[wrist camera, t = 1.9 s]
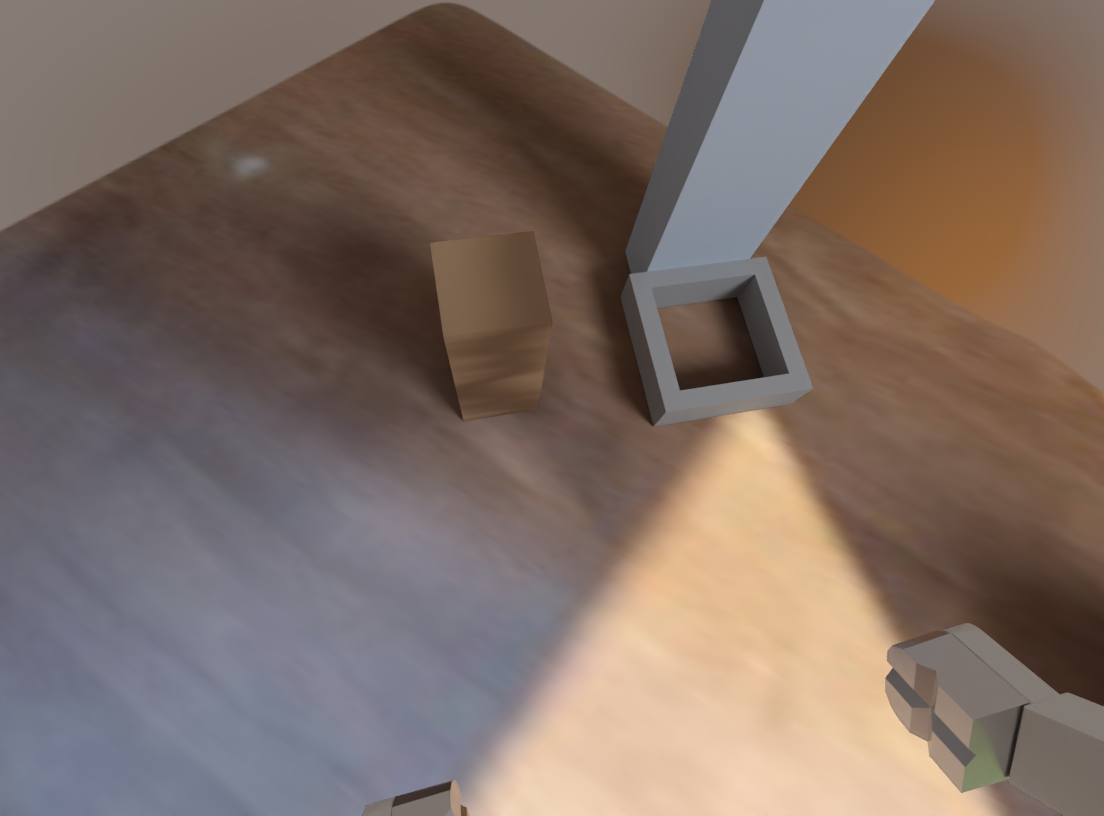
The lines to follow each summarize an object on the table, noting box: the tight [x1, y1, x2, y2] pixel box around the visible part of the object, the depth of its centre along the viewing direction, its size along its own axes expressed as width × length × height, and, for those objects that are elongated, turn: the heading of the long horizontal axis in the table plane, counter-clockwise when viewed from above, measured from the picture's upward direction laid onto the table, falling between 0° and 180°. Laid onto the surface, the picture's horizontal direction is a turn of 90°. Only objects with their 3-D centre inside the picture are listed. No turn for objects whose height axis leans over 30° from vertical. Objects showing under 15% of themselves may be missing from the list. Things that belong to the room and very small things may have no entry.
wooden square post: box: [430, 231, 552, 421], centre depth 26 cm, size 4×4×10 cm
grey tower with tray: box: [620, 0, 935, 427], centre depth 23 cm, size 8×12×19 cm
